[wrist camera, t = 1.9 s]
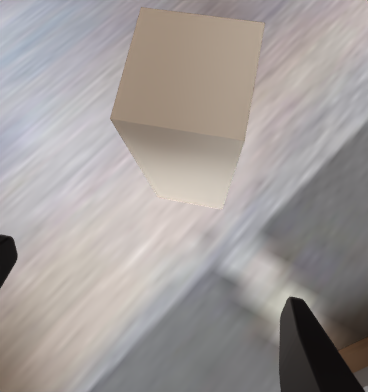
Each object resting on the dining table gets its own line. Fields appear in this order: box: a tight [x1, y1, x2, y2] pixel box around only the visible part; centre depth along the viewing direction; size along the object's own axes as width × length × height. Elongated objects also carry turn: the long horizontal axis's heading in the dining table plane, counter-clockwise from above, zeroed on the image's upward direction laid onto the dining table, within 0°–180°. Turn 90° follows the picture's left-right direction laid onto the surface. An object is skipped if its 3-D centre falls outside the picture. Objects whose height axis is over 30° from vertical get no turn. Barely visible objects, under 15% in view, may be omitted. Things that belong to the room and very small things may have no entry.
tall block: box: [110, 7, 265, 210], centre depth 18 cm, size 5×5×13 cm
